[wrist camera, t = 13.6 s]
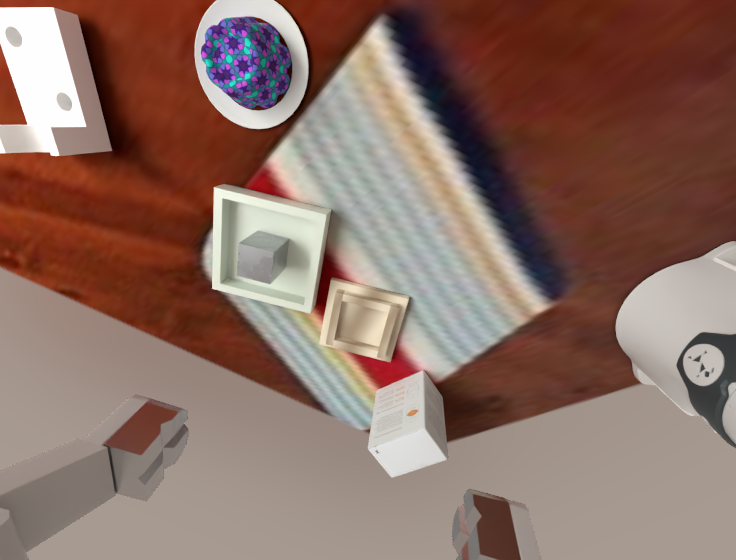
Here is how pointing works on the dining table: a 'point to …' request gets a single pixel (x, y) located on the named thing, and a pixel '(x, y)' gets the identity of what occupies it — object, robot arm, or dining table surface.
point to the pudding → (251, 61)
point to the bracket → (51, 84)
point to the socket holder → (362, 319)
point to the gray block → (262, 256)
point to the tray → (275, 216)
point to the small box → (408, 425)
